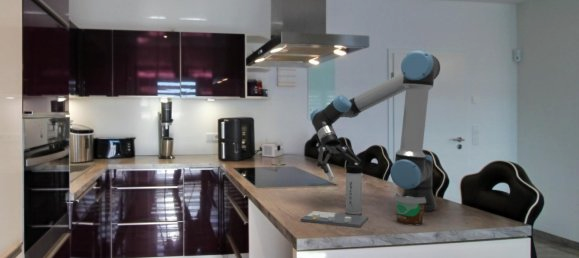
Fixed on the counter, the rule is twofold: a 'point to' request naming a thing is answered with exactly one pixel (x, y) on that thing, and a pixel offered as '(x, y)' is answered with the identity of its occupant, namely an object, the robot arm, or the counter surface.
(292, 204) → the counter surface
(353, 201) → the travel mug
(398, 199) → the food container
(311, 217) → the breaker panel
